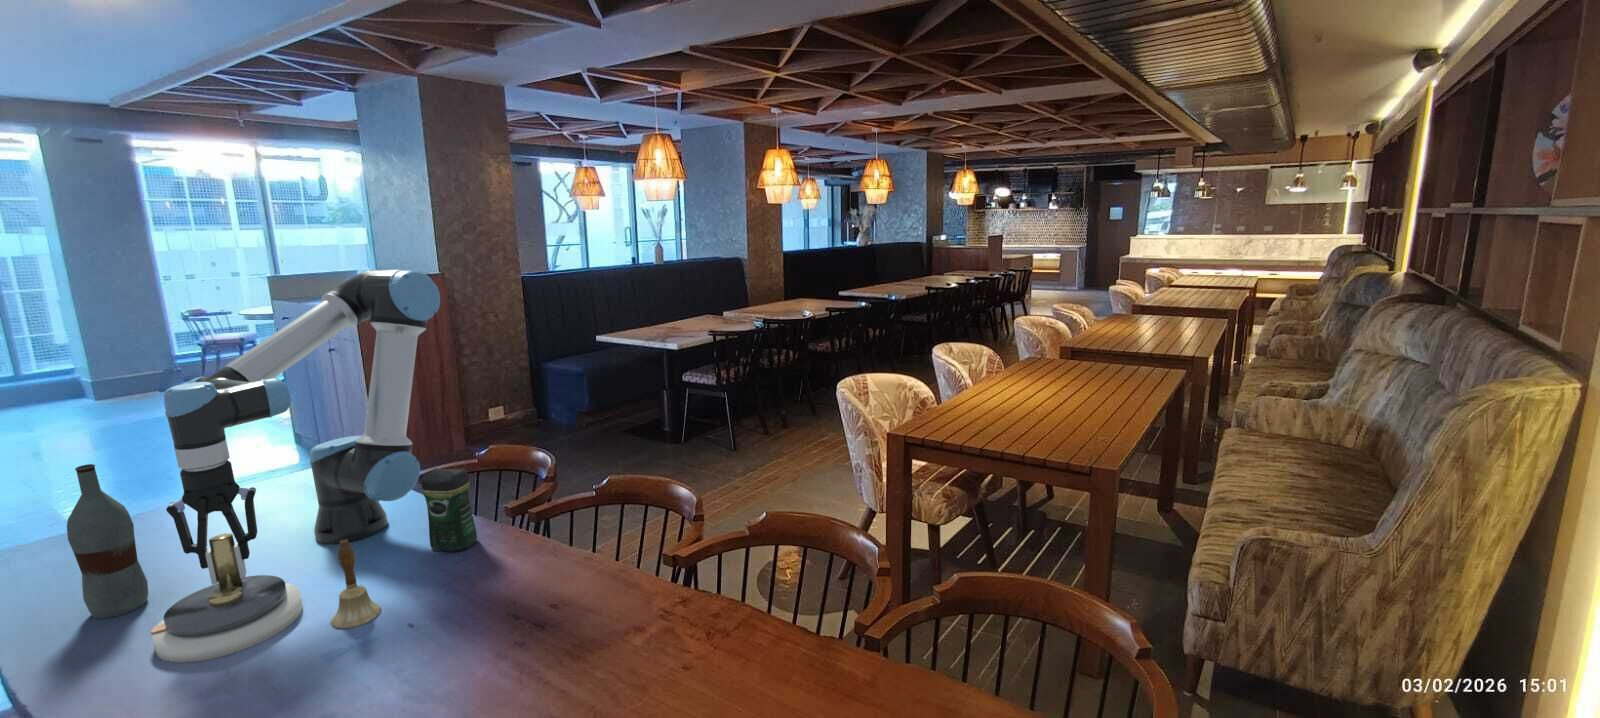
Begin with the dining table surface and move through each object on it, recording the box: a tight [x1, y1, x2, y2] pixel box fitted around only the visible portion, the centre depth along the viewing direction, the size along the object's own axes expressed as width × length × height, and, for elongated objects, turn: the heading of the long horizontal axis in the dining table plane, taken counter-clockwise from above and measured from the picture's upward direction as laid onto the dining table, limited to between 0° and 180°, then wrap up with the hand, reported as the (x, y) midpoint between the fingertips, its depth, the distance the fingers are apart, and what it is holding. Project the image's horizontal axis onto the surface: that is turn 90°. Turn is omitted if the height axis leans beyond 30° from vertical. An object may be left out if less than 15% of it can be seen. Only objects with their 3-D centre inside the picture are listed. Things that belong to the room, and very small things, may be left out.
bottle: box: [66, 463, 149, 620], centre depth 140 cm, size 9×9×30 cm
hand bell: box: [330, 539, 382, 630], centre depth 136 cm, size 8×8×16 cm
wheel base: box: [150, 582, 303, 664], centre depth 135 cm, size 22×22×4 cm
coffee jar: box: [421, 468, 478, 552], centre depth 164 cm, size 10×8×19 cm
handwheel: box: [163, 532, 287, 637], centre depth 133 cm, size 18×18×12 cm
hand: (229, 577), depth 139 cm, fingers closed on handwheel, 4 cm apart
